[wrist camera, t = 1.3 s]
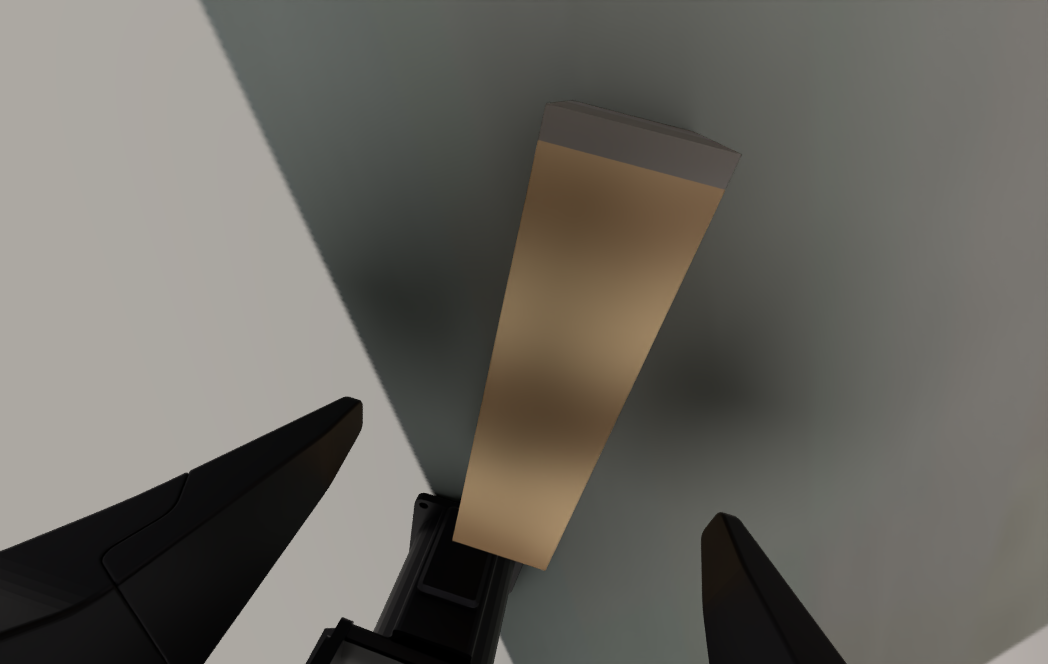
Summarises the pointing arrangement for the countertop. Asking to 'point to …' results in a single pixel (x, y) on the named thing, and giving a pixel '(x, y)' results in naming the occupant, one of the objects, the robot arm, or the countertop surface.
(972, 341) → the countertop surface
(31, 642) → the robot arm
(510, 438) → the oak rail
